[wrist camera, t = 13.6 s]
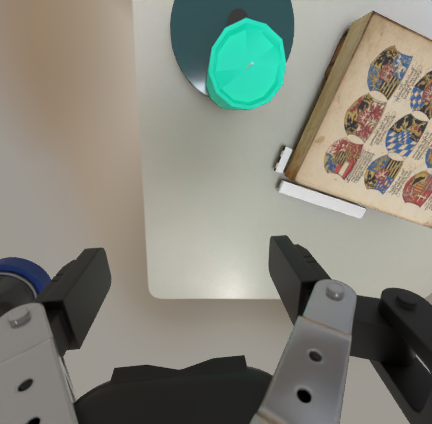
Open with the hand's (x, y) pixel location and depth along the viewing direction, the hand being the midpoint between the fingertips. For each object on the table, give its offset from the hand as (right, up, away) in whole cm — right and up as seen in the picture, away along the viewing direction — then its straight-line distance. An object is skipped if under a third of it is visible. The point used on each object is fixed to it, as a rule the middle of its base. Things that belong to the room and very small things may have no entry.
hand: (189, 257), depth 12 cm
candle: (+3, +17, +16) cm, 24 cm away
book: (+27, +14, +29) cm, 42 cm away
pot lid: (+3, +22, +15) cm, 26 cm away
